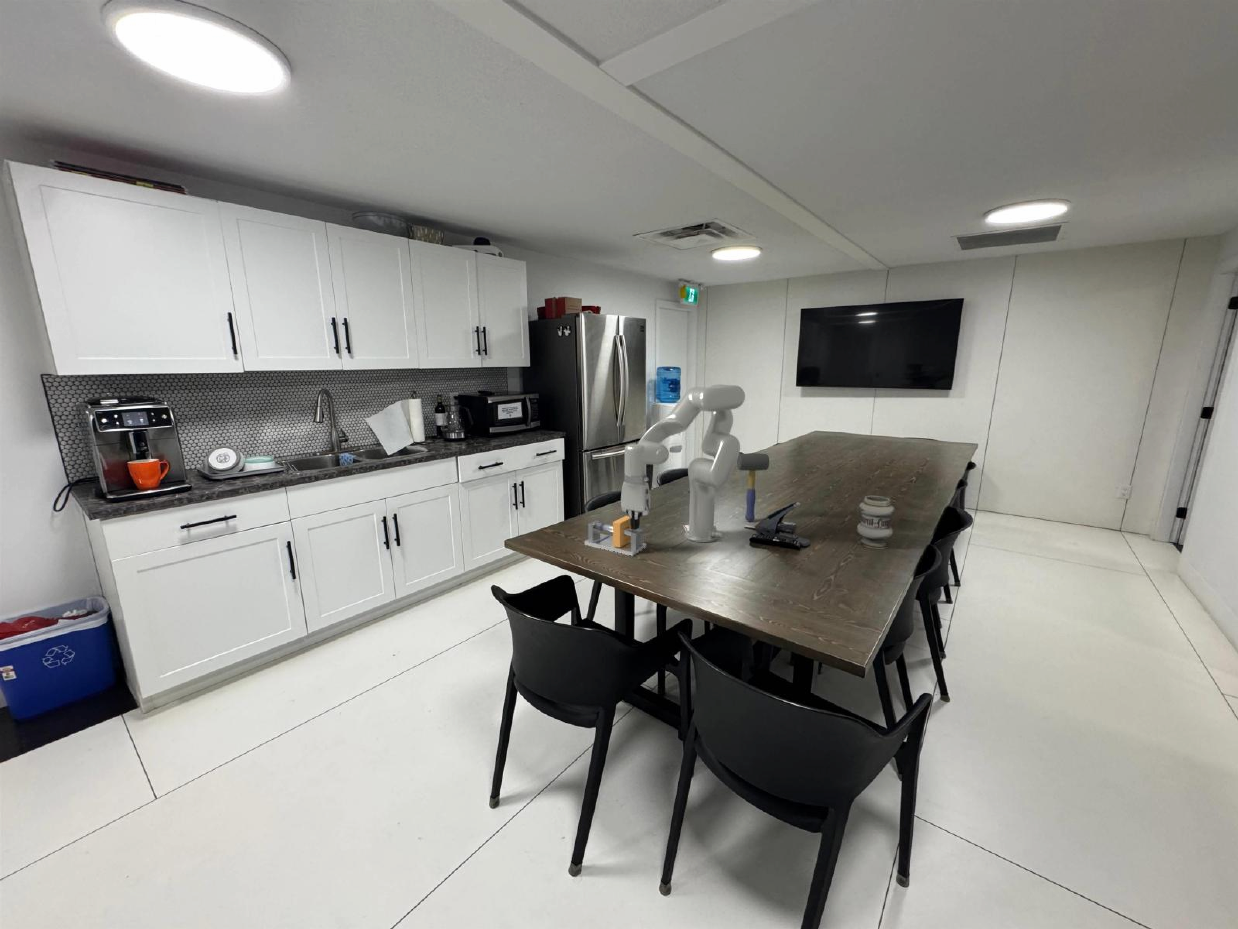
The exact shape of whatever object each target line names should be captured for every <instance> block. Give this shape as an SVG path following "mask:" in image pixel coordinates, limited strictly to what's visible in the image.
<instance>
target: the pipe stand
mask: <svg viewBox="0 0 1238 929" xmlns="http://www.w3.org/2000/svg"><path fill="white" fill-rule="evenodd" d="M587 529H588V531H587V532H588V533H587V534H588V535H587V536H588V539H586V540H584V546H587V545H588V546H589V547H592V548H596V549H600V548H601V550H604V549H605V550H604V551H608V550H609V552H613V551H615V552H614V553H617V552H618V553H617V554H621V553H622V554H621V555H626V556H629V555H631V556H630V557H634V556H635V555H636V553H637V554H638V553H639V551H640V552H642V551H643V550H644V549H646V548H647V543H646V542H645V543H644V539H643V538H644V529H642V528H638V529H636V530H634V529H633V530H631V529H626V528H624V535H627V536H631V541H630V542H628V543H627V544H625V545H623V546H622V547H616V546H613V535H609V534H603V533H601V531H603V532H609V533H613V525H611V524H607V523H601V521H600V520H597V519H595V520H593V521H591V522H589V523H588V528H587ZM643 548H644V549H643ZM642 549H643V550H642Z"/></svg>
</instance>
